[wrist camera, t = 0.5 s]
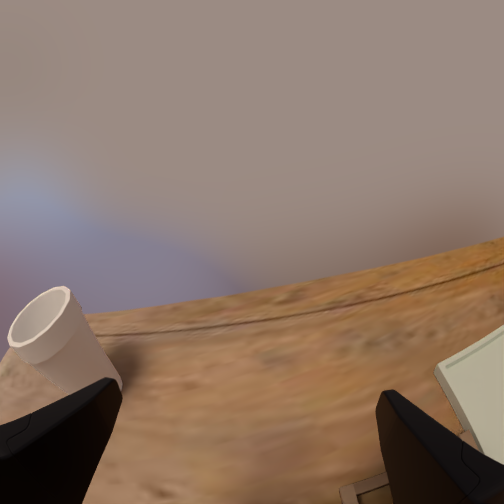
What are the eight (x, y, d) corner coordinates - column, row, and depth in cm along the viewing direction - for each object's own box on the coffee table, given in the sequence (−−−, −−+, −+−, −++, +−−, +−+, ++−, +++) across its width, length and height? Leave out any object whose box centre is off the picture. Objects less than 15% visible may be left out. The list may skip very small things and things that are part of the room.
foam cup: (126, 421, 24) (47, 342, 17) (69, 420, 24) (-4, 351, 18) (137, 357, 32) (82, 278, 26) (85, 365, 32) (30, 295, 26)
